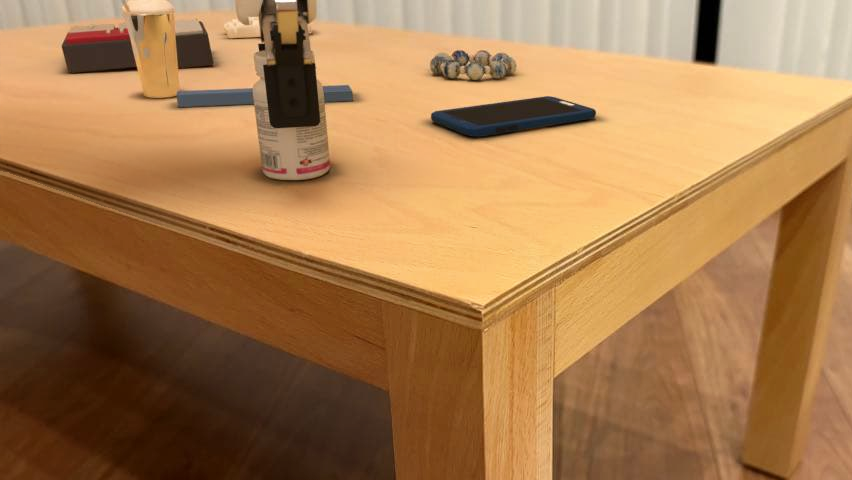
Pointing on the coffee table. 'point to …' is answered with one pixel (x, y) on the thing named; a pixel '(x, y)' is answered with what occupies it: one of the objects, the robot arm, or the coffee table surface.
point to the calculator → (130, 47)
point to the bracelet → (472, 64)
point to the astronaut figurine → (246, 28)
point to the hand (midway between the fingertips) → (290, 110)
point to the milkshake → (153, 45)
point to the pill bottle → (289, 137)
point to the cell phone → (512, 115)
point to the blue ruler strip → (248, 96)
